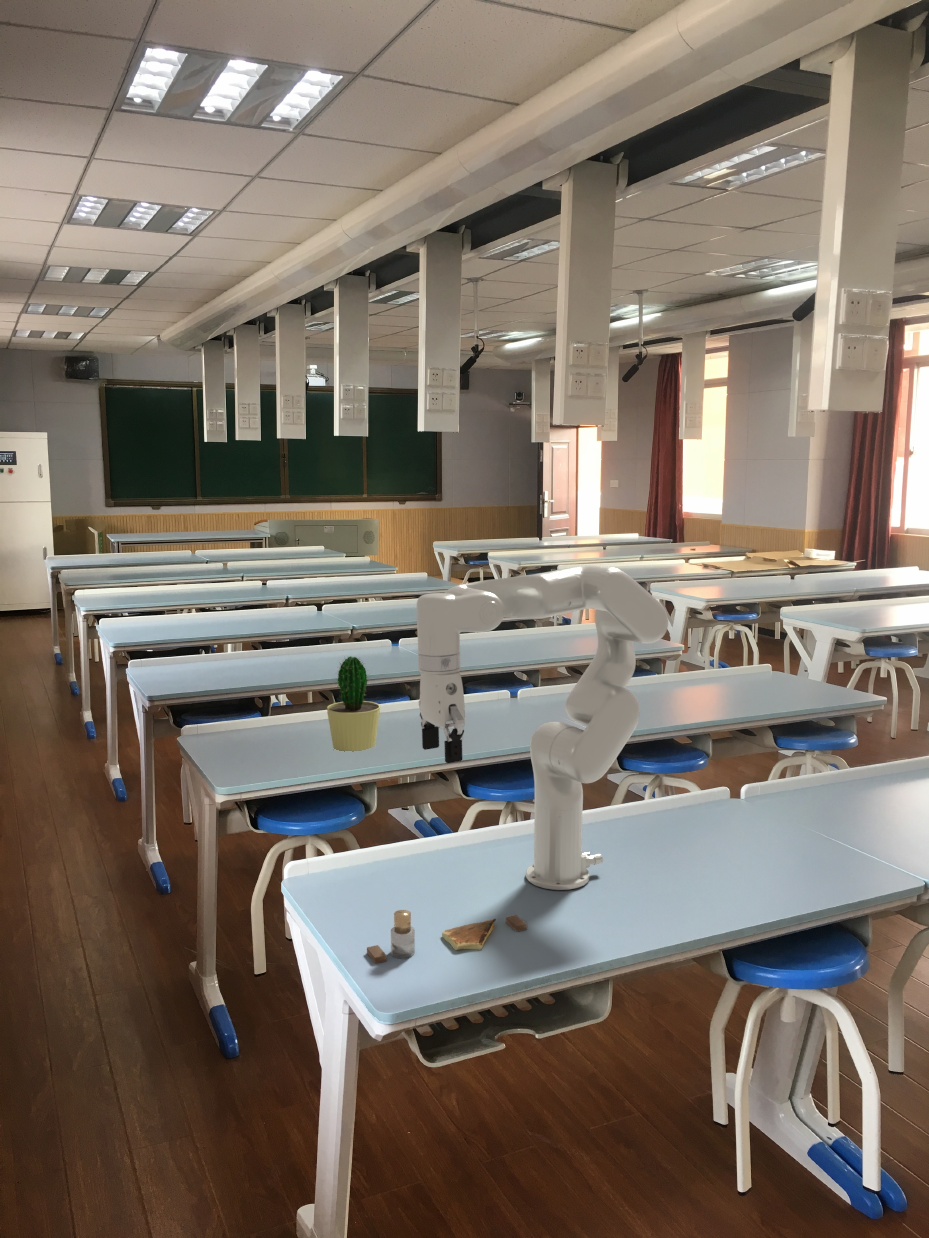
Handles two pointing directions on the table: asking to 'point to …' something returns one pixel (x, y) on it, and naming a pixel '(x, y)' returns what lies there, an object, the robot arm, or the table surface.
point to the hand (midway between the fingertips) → (442, 754)
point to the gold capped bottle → (402, 935)
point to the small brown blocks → (380, 956)
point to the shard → (469, 935)
